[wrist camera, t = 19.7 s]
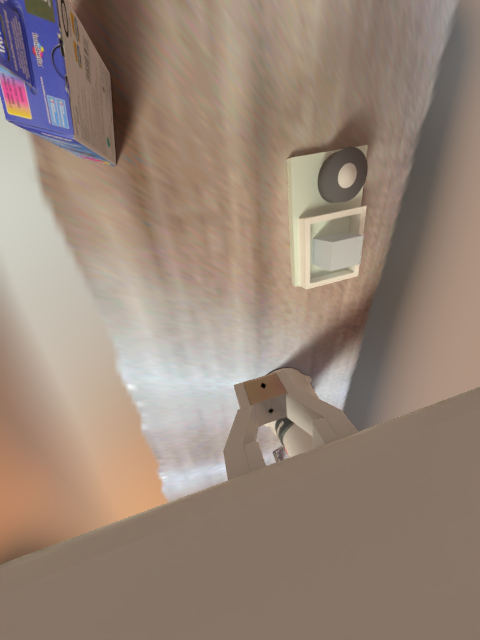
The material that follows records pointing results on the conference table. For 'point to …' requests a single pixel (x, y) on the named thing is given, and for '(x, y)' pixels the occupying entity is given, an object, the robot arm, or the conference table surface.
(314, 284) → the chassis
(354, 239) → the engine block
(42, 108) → the ink cartridge box
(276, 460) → the caliper
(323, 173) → the wheel
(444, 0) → the conference table surface
